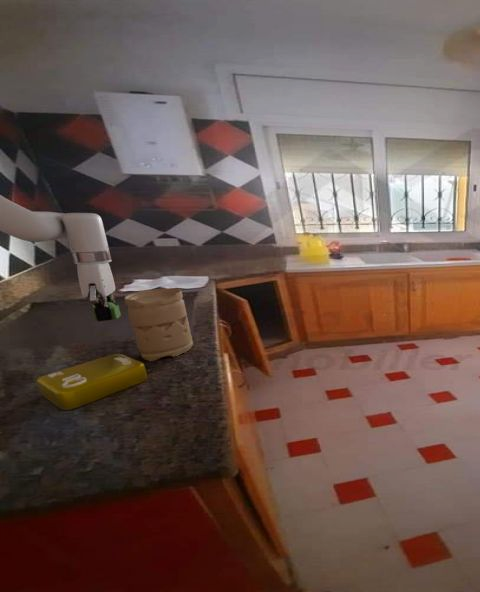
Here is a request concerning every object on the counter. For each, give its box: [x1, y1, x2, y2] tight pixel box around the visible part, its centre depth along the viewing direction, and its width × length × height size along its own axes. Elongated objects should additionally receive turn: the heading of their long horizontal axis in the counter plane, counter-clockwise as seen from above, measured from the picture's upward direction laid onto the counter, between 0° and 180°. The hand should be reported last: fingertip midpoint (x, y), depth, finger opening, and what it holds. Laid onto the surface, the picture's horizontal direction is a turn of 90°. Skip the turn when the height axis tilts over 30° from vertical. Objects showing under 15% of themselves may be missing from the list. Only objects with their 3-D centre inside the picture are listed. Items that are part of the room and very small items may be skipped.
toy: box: [91, 302, 122, 322], centre depth 94 cm, size 5×4×5 cm
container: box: [124, 287, 194, 362], centre depth 92 cm, size 13×13×18 cm
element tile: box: [36, 353, 148, 411], centre depth 75 cm, size 15×15×5 cm
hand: (107, 317), depth 95 cm, fingers closed on toy, 4 cm apart
